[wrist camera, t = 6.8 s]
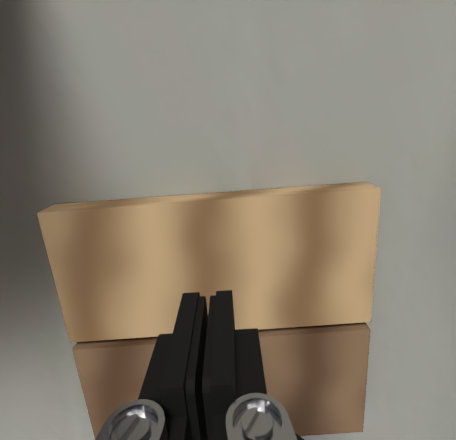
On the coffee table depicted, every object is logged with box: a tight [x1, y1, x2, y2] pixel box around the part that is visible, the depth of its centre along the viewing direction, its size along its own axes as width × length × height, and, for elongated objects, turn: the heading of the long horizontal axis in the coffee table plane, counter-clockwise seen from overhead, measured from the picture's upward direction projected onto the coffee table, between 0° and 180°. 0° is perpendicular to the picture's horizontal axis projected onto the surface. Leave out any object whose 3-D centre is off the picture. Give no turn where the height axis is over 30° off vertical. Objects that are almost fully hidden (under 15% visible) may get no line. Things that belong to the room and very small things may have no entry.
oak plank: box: [37, 182, 381, 342], centre depth 21 cm, size 20×9×2 cm, turn 94°
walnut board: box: [72, 322, 370, 439], centre depth 24 cm, size 20×9×2 cm, turn 94°
